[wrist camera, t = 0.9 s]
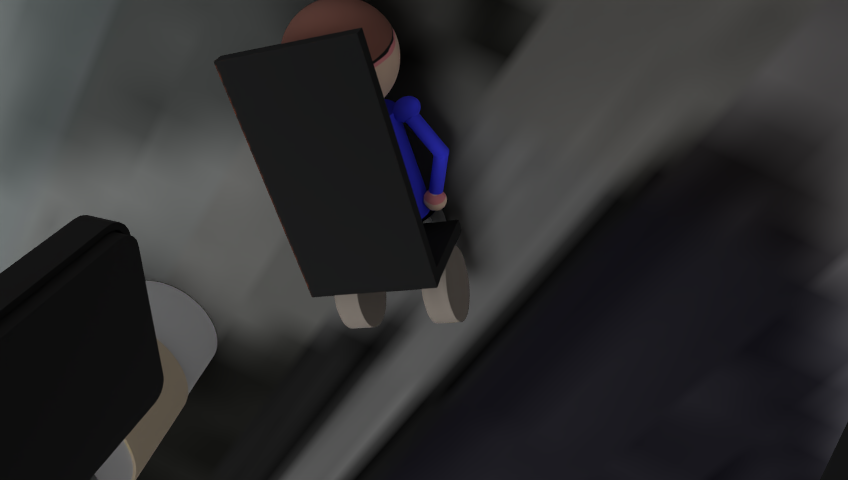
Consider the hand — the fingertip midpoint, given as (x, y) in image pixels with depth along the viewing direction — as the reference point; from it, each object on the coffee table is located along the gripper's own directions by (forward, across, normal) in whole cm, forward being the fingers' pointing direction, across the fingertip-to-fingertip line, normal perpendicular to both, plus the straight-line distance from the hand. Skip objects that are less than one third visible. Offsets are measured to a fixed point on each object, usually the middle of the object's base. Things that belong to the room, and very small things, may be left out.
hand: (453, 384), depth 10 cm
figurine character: (+25, +9, +10) cm, 28 cm away
